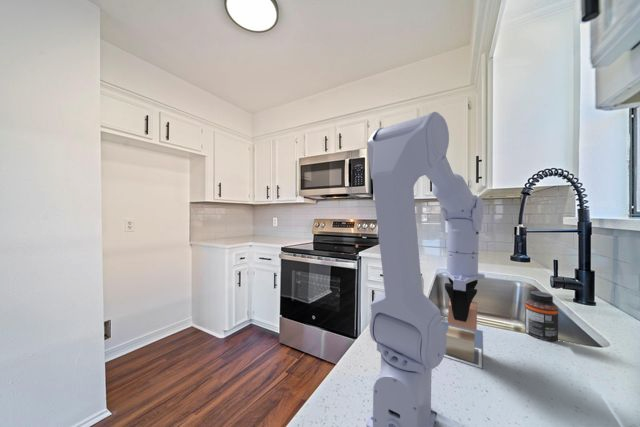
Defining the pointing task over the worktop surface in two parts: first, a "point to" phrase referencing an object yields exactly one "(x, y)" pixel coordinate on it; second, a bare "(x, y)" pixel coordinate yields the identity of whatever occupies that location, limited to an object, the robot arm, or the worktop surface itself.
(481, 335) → the board
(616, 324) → the worktop surface
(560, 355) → the worktop surface
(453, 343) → the cream block
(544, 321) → the supplement bottle
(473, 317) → the terracotta block
